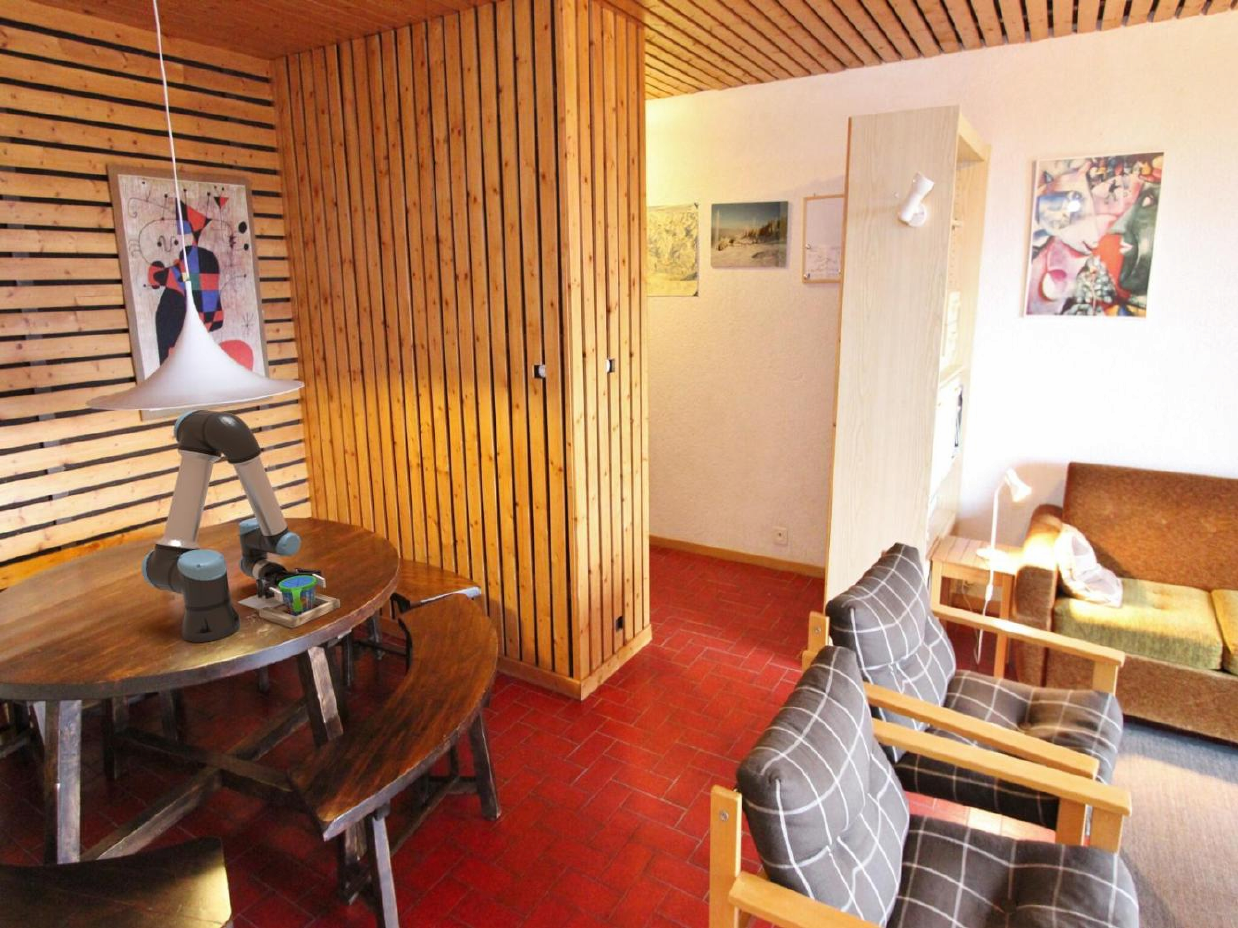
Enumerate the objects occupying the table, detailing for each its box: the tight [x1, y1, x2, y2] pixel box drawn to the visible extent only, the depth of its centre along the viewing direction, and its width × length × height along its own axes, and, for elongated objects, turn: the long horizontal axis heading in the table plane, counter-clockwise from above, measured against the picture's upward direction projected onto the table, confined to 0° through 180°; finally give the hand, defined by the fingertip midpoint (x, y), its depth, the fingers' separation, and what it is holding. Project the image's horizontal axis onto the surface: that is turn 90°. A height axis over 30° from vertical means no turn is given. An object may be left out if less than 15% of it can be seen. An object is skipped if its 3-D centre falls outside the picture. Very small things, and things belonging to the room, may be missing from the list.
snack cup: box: [278, 575, 317, 616], centre depth 229 cm, size 16×10×10 cm
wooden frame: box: [258, 592, 341, 629], centre depth 230 cm, size 17×16×2 cm
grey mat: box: [237, 587, 285, 611], centre depth 240 cm, size 13×13×1 cm
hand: (303, 590), depth 227 cm, fingers open, 13 cm apart
